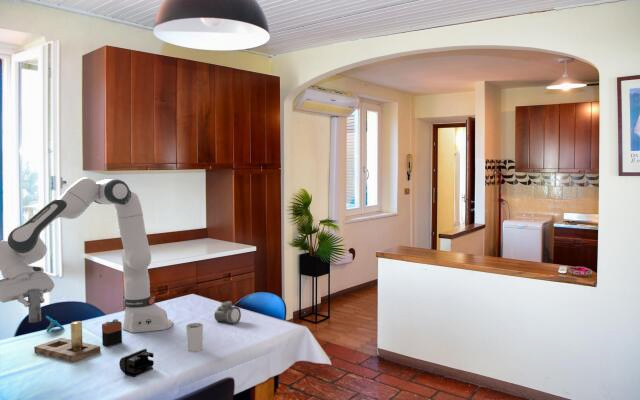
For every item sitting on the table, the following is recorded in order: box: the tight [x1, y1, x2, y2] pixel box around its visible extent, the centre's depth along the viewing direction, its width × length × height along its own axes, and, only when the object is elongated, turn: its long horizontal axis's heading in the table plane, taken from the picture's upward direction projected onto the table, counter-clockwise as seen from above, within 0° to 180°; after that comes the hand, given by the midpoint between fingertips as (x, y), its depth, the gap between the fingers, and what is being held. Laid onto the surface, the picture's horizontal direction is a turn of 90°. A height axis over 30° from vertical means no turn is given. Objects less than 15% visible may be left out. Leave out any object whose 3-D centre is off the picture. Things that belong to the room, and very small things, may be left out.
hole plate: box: [33, 337, 101, 363], centre depth 200 cm, size 24×12×2 cm, turn 63°
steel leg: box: [27, 289, 42, 323], centre depth 188 cm, size 4×4×12 cm
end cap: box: [118, 348, 155, 378], centre depth 181 cm, size 10×7×7 cm
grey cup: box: [186, 322, 204, 353], centre depth 203 cm, size 7×7×10 cm
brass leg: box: [70, 320, 84, 352], centre depth 197 cm, size 4×4×13 cm
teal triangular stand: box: [45, 315, 65, 333], centre depth 228 cm, size 11×6×10 cm
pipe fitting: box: [214, 300, 242, 325], centre depth 240 cm, size 12×8×10 cm
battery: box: [101, 318, 123, 348], centre depth 210 cm, size 4×7×10 cm, turn 142°
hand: (35, 304), depth 187 cm, fingers closed on steel leg, 4 cm apart
